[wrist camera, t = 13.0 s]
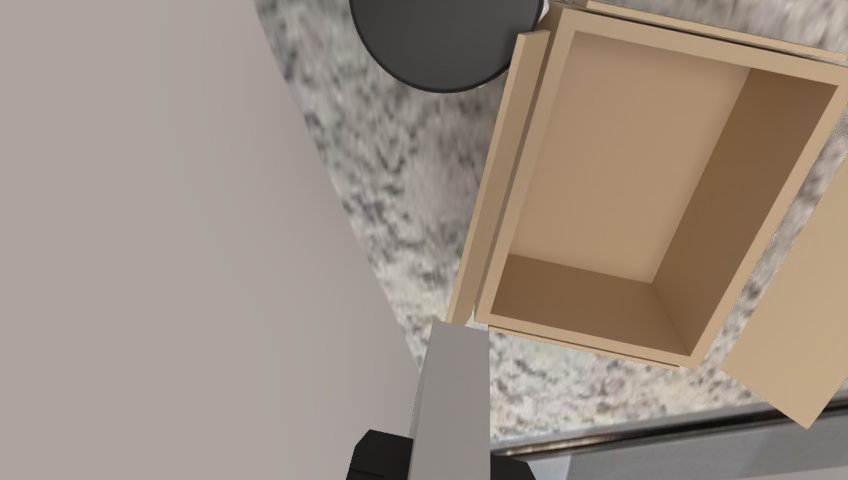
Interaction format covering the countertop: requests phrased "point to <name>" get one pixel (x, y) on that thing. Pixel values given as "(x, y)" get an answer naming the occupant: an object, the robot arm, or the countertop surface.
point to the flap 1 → (497, 170)
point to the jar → (444, 38)
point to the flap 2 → (802, 317)
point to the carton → (651, 180)
